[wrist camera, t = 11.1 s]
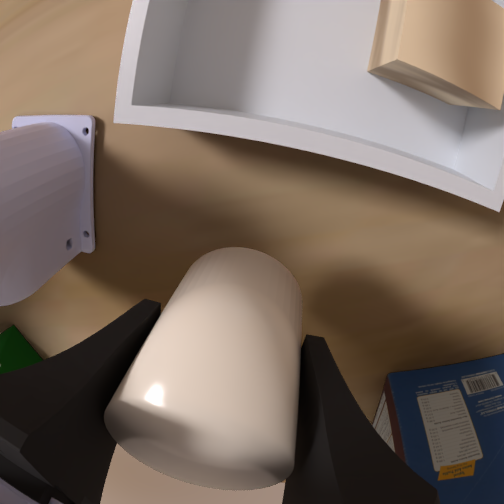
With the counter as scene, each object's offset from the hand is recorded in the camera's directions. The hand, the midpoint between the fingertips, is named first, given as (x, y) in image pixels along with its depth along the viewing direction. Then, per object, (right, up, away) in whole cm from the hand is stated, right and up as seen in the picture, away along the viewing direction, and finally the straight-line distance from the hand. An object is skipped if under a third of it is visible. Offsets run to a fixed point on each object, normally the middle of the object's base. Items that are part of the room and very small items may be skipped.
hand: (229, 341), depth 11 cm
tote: (+5, +15, +2) cm, 16 cm away
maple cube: (+10, +14, +1) cm, 17 cm away
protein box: (+20, -11, +13) cm, 26 cm away
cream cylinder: (0, +1, +2) cm, 2 cm away
